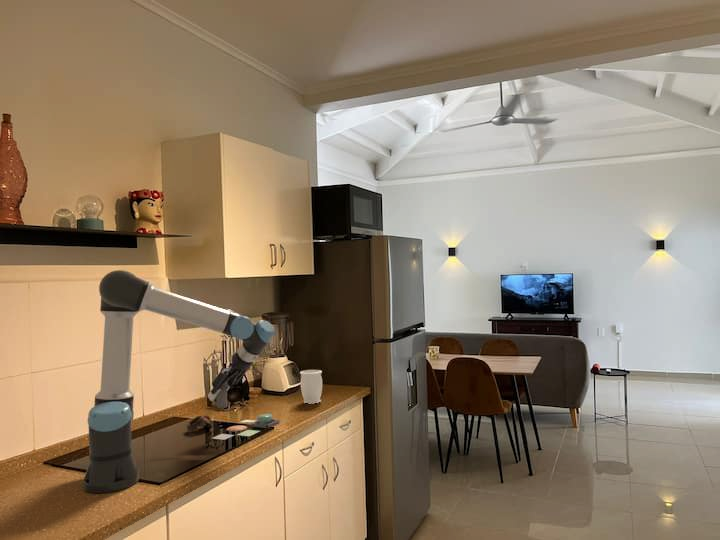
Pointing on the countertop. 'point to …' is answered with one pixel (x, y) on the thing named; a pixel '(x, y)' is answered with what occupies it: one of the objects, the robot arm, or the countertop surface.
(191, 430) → the dark brown rock
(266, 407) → the countertop surface
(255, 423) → the colouring board
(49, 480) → the countertop surface
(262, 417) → the button
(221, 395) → the marker
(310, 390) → the jar
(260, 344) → the robot arm
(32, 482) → the countertop surface
